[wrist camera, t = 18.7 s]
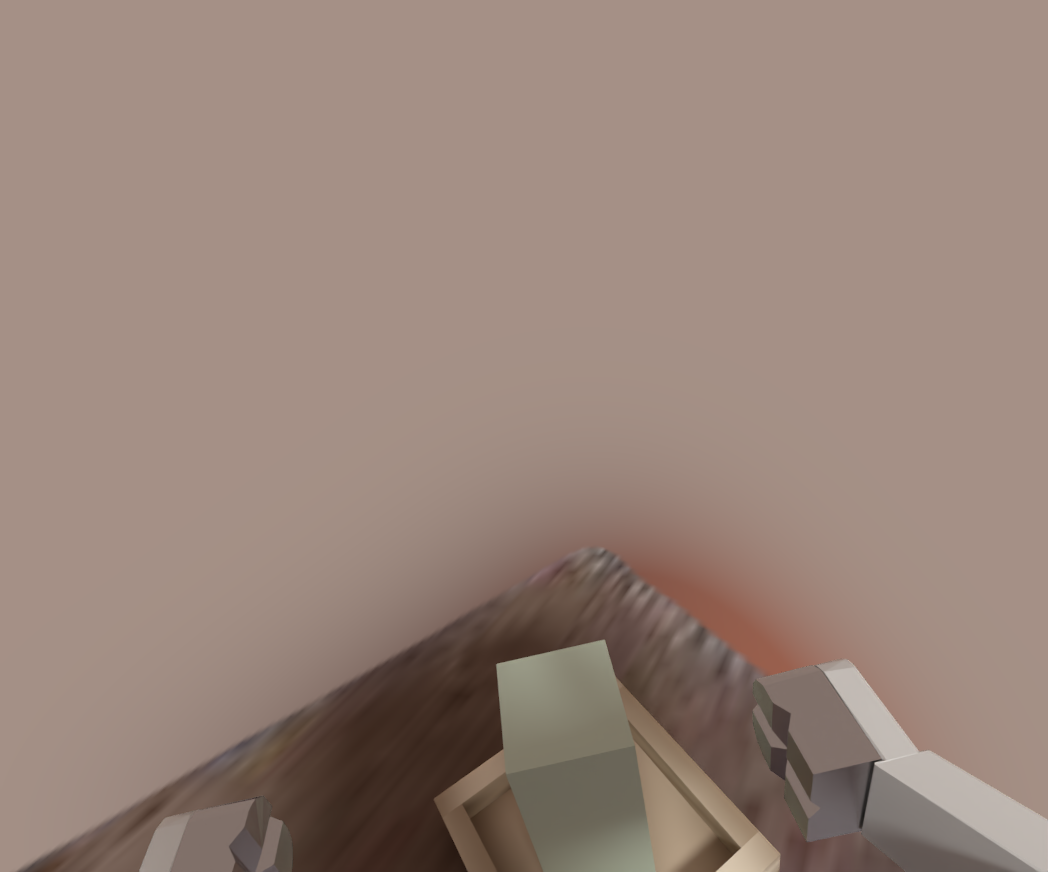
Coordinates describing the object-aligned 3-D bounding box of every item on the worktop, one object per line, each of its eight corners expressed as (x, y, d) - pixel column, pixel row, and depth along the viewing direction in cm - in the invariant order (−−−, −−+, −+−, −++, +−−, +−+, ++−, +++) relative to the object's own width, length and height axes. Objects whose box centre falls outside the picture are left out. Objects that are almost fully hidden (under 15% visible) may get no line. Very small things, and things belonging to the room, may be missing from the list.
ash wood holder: (570, 1085, 24) (561, 1068, 23) (445, 821, 34) (433, 798, 33) (778, 878, 29) (780, 854, 28) (615, 696, 38) (611, 672, 37)
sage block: (556, 907, 29) (506, 774, 23) (542, 800, 33) (496, 664, 27) (657, 884, 29) (634, 745, 23) (630, 780, 33) (604, 639, 27)
